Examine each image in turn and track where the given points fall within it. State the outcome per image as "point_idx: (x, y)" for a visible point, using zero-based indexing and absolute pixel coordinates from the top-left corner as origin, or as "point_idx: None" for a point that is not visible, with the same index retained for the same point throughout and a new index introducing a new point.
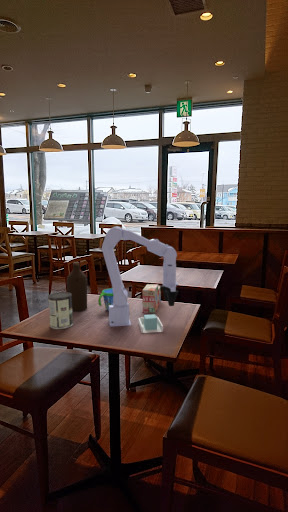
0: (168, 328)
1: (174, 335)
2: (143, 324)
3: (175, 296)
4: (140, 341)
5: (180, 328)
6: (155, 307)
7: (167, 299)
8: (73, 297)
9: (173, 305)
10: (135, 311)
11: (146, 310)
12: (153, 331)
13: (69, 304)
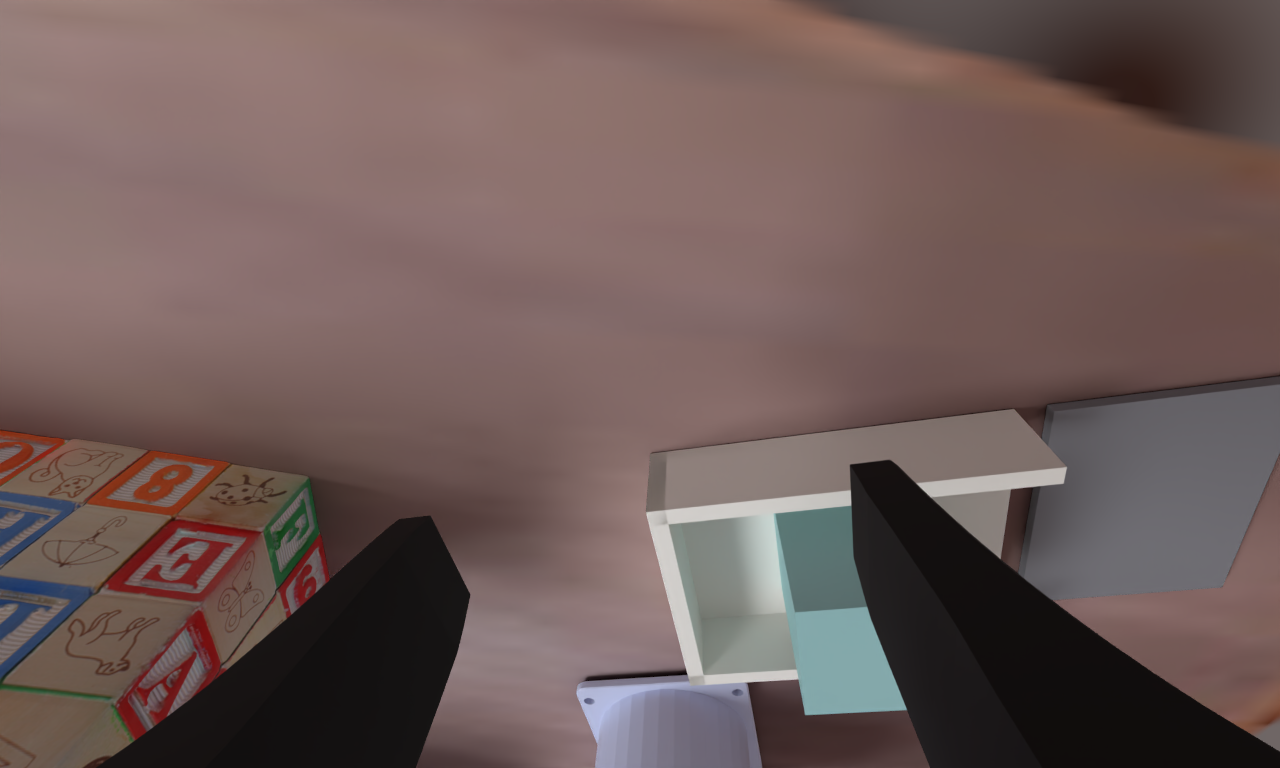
0: (872, 338)
1: (1167, 272)
2: (738, 592)
3: (1232, 753)
4: (1176, 606)
5: (908, 160)
6: (202, 510)
7: (434, 595)
8: None
9: (899, 474)
10: None
11: (303, 578)
12: (982, 513)
13: None
